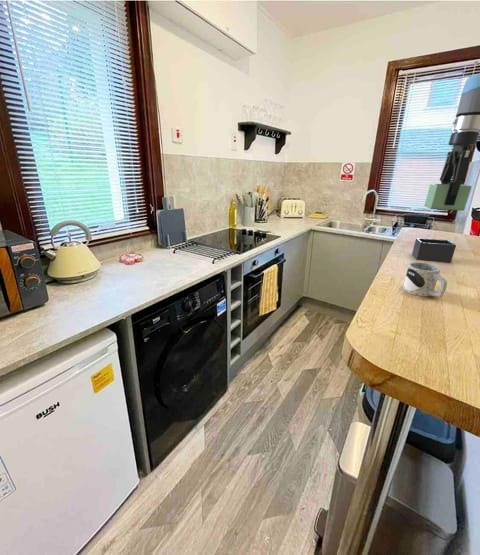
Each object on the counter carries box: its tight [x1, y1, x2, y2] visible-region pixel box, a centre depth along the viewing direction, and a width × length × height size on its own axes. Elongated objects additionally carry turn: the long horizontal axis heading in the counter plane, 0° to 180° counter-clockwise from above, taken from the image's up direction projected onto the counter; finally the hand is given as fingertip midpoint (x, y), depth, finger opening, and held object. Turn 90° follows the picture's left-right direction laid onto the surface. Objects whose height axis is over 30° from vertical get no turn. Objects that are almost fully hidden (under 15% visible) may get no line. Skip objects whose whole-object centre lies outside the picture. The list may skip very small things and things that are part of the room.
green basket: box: [424, 183, 473, 211], centre depth 97 cm, size 10×8×8 cm
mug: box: [402, 261, 448, 298], centre depth 68 cm, size 10×7×7 cm, turn 14°
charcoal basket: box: [411, 237, 457, 264], centre depth 93 cm, size 10×6×6 cm, turn 72°
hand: (444, 203), depth 98 cm, fingers closed on green basket, 8 cm apart
